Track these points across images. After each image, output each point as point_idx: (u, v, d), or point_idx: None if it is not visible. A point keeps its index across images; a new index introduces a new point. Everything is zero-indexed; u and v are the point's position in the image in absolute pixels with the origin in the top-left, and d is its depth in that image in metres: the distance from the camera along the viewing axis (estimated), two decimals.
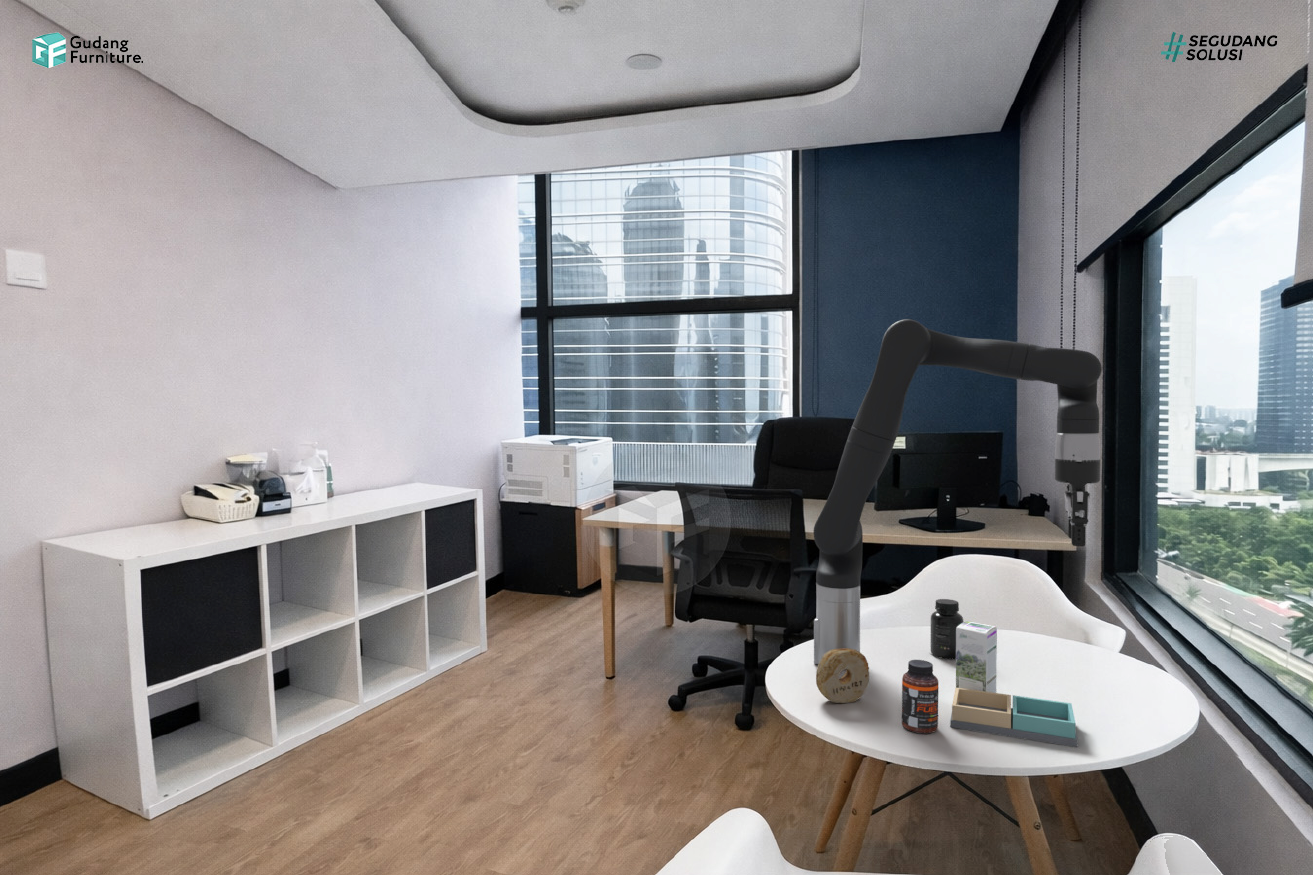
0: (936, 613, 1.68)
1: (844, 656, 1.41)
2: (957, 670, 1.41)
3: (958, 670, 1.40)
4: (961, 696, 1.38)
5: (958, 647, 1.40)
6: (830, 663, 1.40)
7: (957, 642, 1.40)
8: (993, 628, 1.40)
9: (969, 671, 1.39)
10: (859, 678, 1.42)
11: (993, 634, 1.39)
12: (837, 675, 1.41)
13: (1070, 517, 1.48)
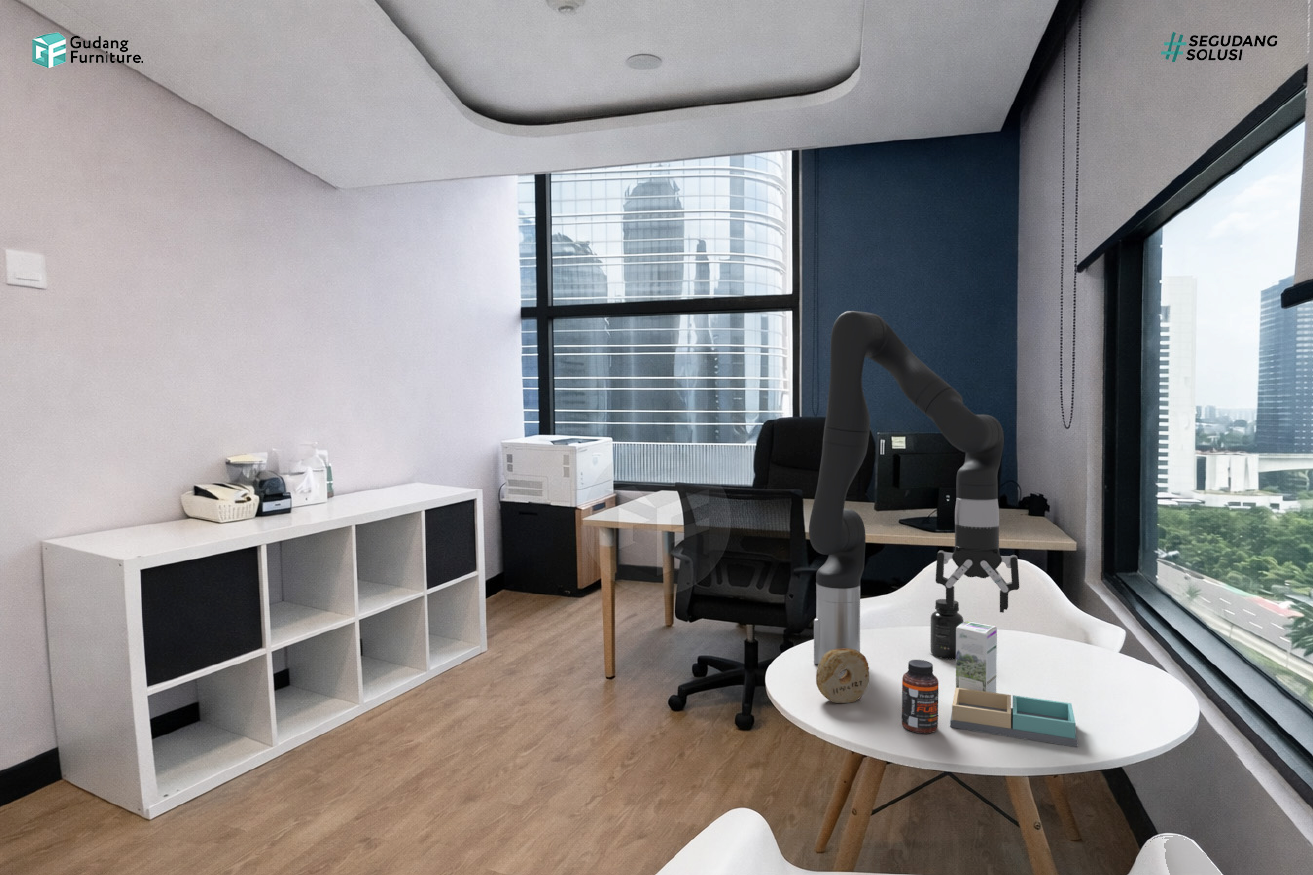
0: (936, 613, 1.68)
1: (844, 656, 1.41)
2: (957, 670, 1.41)
3: (958, 670, 1.40)
4: (961, 696, 1.38)
5: (958, 647, 1.40)
6: (830, 663, 1.40)
7: (957, 642, 1.40)
8: (993, 628, 1.40)
9: (969, 671, 1.39)
10: (859, 678, 1.42)
11: (993, 634, 1.39)
12: (837, 675, 1.41)
13: (952, 586, 1.42)
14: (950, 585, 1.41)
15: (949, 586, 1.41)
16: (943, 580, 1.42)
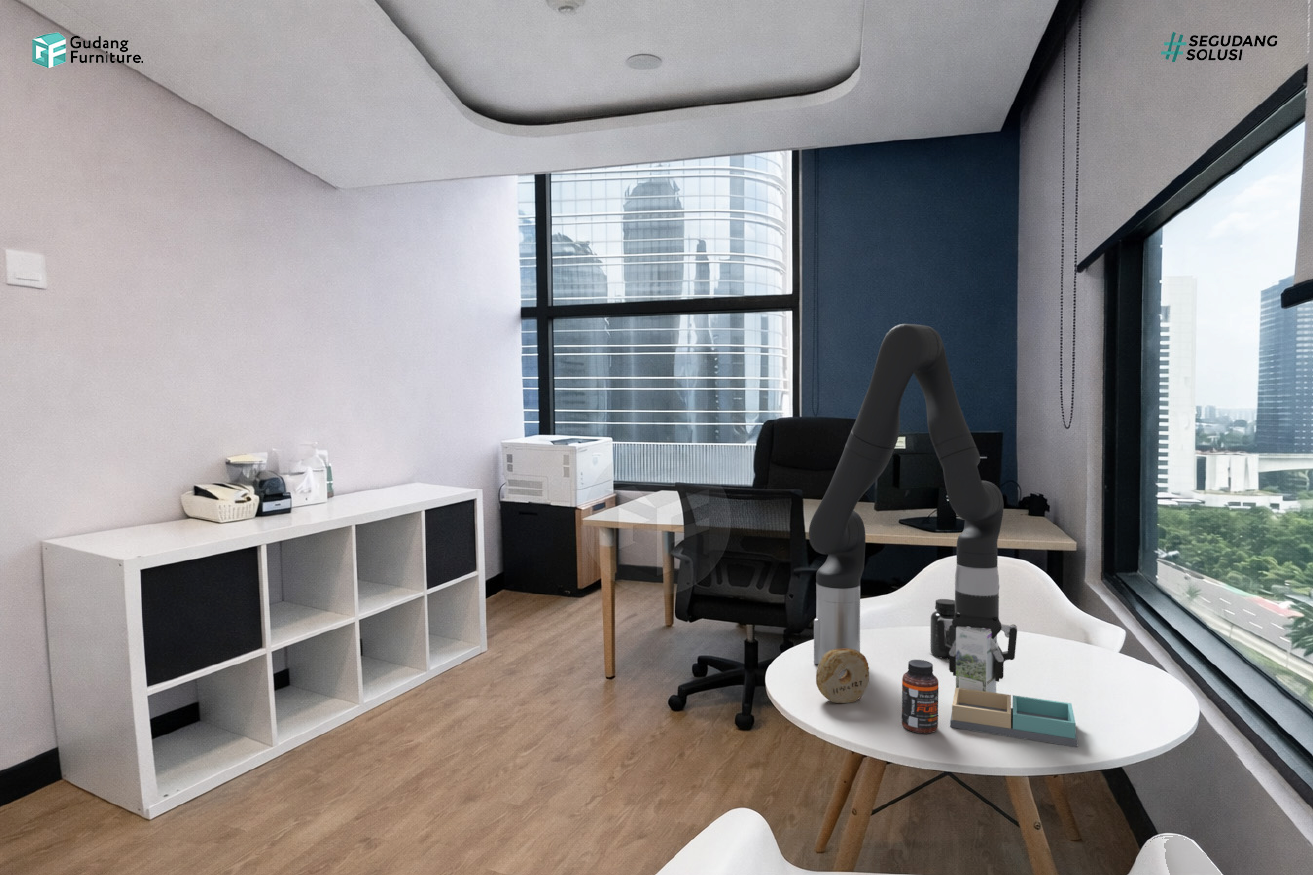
0: (936, 613, 1.68)
1: (844, 656, 1.41)
2: (957, 670, 1.41)
3: (958, 670, 1.40)
4: (961, 696, 1.38)
5: (957, 647, 1.40)
6: (830, 663, 1.40)
7: (957, 642, 1.40)
8: None
9: (969, 670, 1.39)
10: (859, 678, 1.42)
11: None
12: (837, 675, 1.41)
13: None
14: (953, 653, 1.41)
15: (952, 654, 1.41)
16: (946, 647, 1.42)
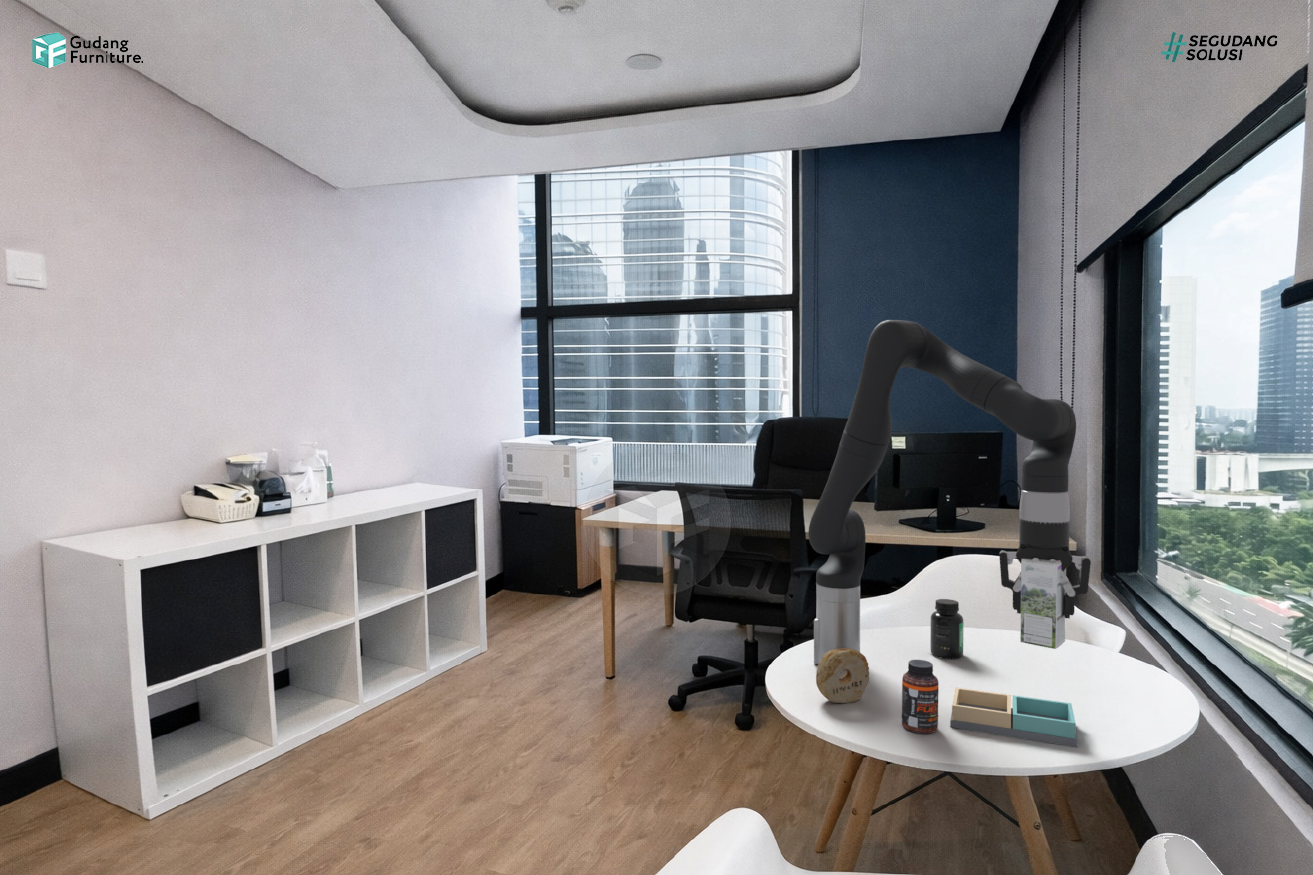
0: (936, 613, 1.68)
1: (844, 656, 1.41)
2: (1022, 607, 1.28)
3: (1024, 606, 1.28)
4: (961, 696, 1.38)
5: (1023, 581, 1.28)
6: (830, 663, 1.40)
7: (1022, 576, 1.28)
8: None
9: (1037, 606, 1.26)
10: (859, 678, 1.42)
11: None
12: (837, 675, 1.41)
13: (1020, 589, 1.29)
14: (1018, 589, 1.29)
15: (1017, 590, 1.29)
16: (1010, 582, 1.30)
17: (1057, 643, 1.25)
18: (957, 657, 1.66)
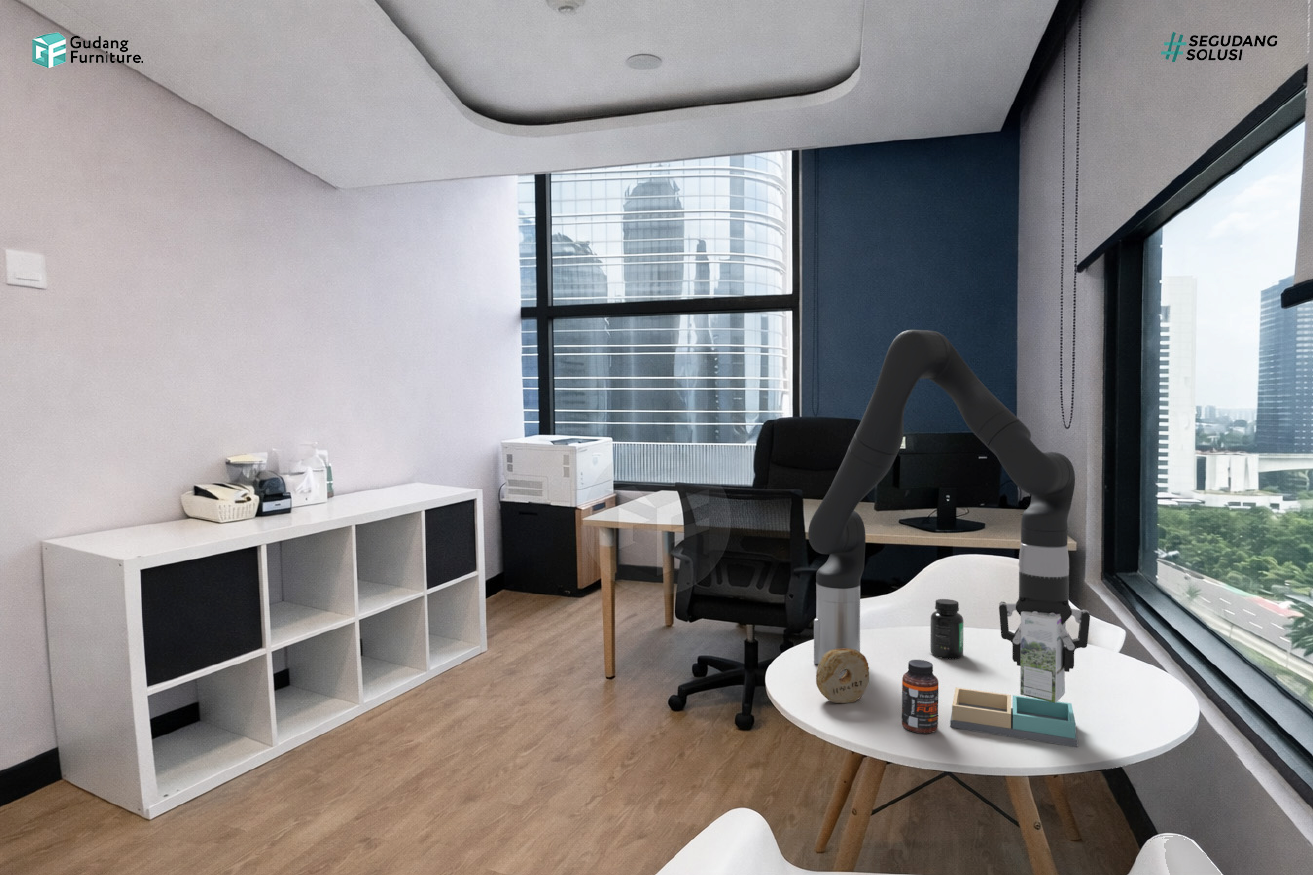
0: (936, 613, 1.68)
1: (844, 656, 1.41)
2: (1022, 659, 1.28)
3: (1024, 659, 1.28)
4: (961, 696, 1.38)
5: (1023, 634, 1.28)
6: (830, 663, 1.40)
7: (1022, 628, 1.28)
8: None
9: (1036, 660, 1.27)
10: (859, 678, 1.42)
11: None
12: (837, 675, 1.41)
13: (1020, 641, 1.29)
14: (1018, 641, 1.29)
15: (1016, 642, 1.29)
16: (1009, 635, 1.30)
17: (1057, 697, 1.26)
18: (957, 657, 1.66)
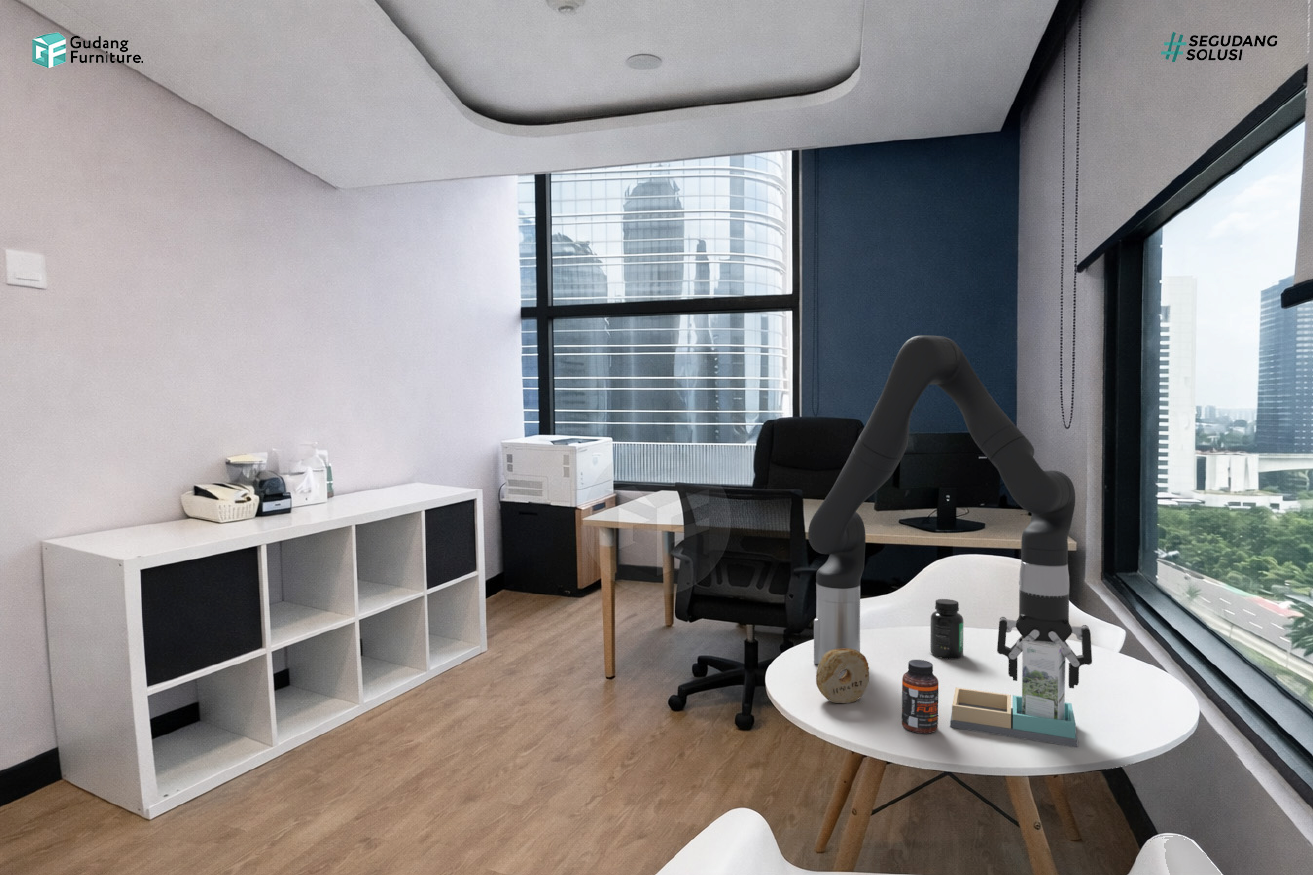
0: (936, 613, 1.68)
1: (844, 656, 1.41)
2: (1024, 688, 1.28)
3: (1025, 687, 1.28)
4: (961, 696, 1.38)
5: (1025, 663, 1.28)
6: (830, 663, 1.40)
7: (1024, 657, 1.28)
8: None
9: (1038, 688, 1.27)
10: (859, 678, 1.42)
11: None
12: (837, 675, 1.41)
13: (1016, 657, 1.30)
14: (1014, 656, 1.29)
15: (1012, 657, 1.29)
16: (1005, 650, 1.30)
17: None
18: (957, 657, 1.66)
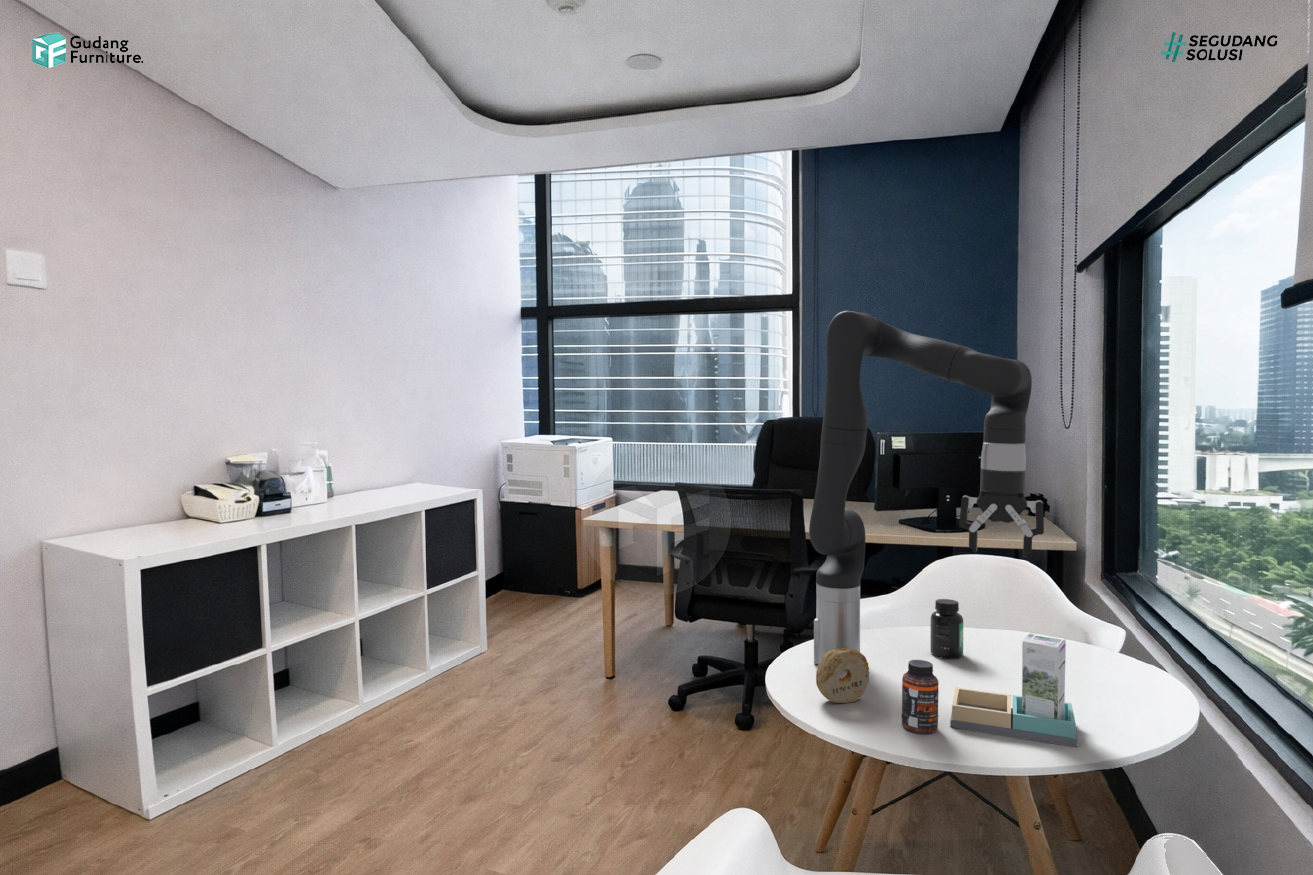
0: (936, 613, 1.68)
1: (844, 656, 1.41)
2: (1024, 688, 1.28)
3: (1025, 688, 1.28)
4: (961, 696, 1.38)
5: (1024, 663, 1.28)
6: (830, 663, 1.40)
7: (1024, 657, 1.28)
8: (1063, 641, 1.28)
9: (1038, 688, 1.27)
10: (859, 678, 1.42)
11: (1063, 648, 1.27)
12: (837, 675, 1.41)
13: (975, 530, 1.42)
14: (974, 529, 1.41)
15: (973, 530, 1.41)
16: (967, 524, 1.42)
17: None
18: (957, 657, 1.66)
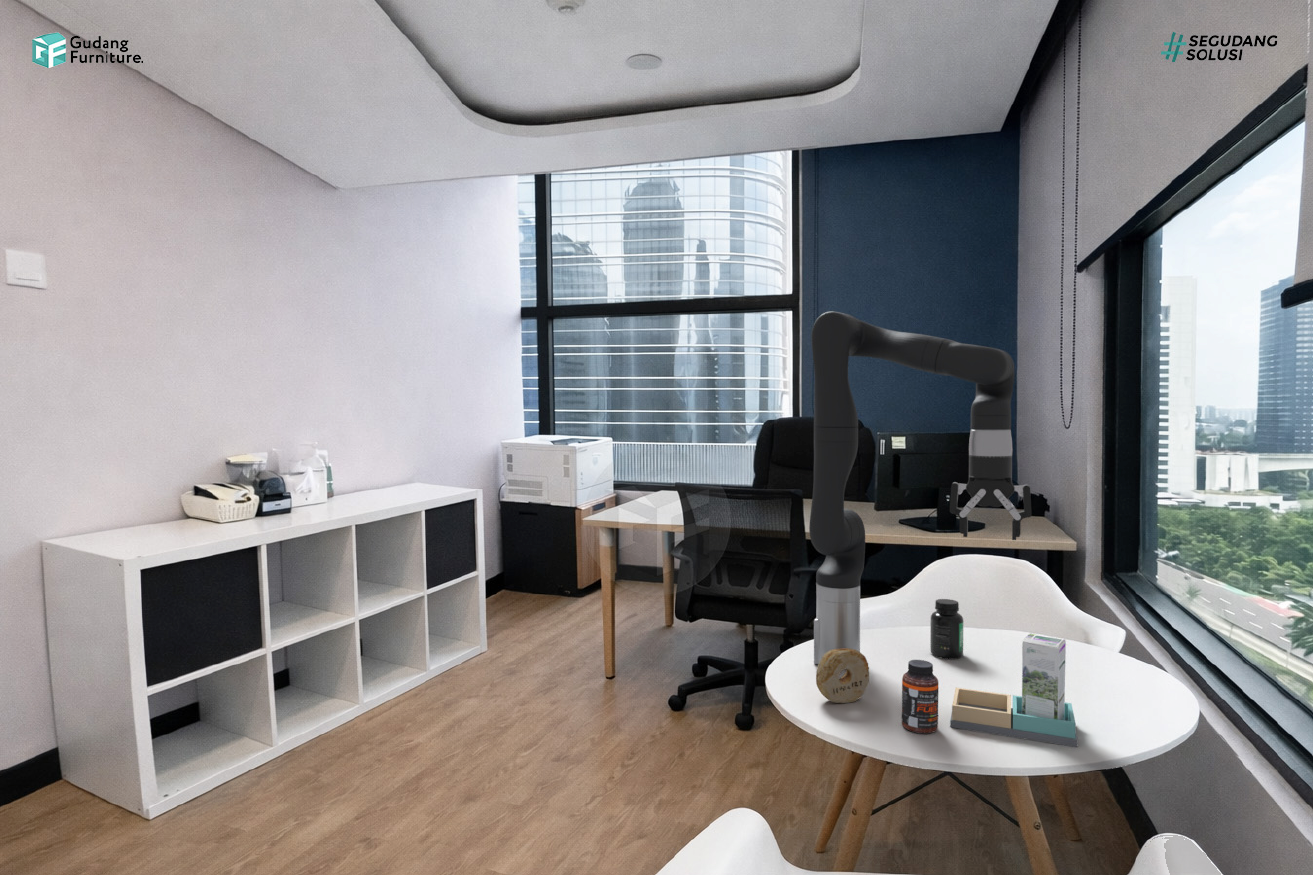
0: (936, 613, 1.68)
1: (844, 656, 1.41)
2: (1024, 688, 1.28)
3: (1025, 688, 1.28)
4: (961, 696, 1.38)
5: (1024, 663, 1.28)
6: (830, 663, 1.40)
7: (1024, 657, 1.28)
8: (1063, 641, 1.28)
9: (1038, 688, 1.27)
10: (859, 678, 1.42)
11: (1063, 648, 1.27)
12: (837, 675, 1.41)
13: (966, 515, 1.46)
14: (964, 515, 1.45)
15: (963, 516, 1.45)
16: (957, 510, 1.46)
17: None
18: (957, 657, 1.66)
